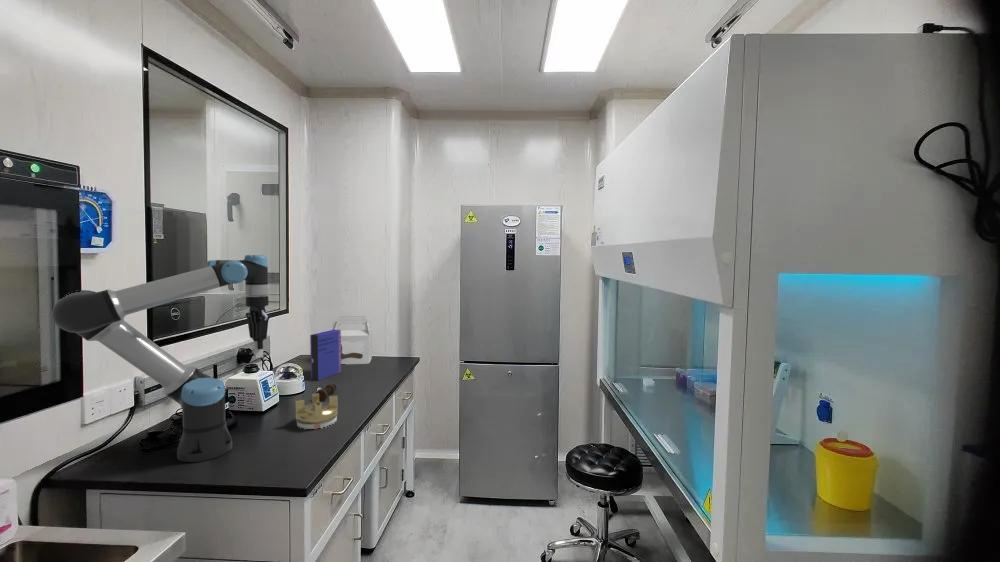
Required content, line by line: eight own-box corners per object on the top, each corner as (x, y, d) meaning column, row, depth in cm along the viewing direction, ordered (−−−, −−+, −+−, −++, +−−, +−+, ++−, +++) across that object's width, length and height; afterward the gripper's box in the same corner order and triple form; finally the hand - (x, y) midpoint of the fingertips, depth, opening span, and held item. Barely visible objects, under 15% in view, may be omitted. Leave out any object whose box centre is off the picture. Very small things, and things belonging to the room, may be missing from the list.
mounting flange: (311, 432, 158) (311, 427, 158) (289, 424, 166) (289, 418, 166) (344, 420, 170) (344, 415, 170) (322, 412, 178) (322, 408, 178)
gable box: (372, 358, 272) (371, 314, 270) (369, 363, 259) (369, 317, 257) (335, 359, 268) (334, 315, 266) (330, 365, 255) (330, 318, 253)
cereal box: (334, 371, 241) (333, 329, 240) (341, 372, 239) (340, 329, 238) (311, 380, 225) (310, 334, 223) (318, 381, 223) (317, 335, 222)
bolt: (335, 394, 207) (322, 404, 192) (326, 389, 207) (312, 398, 192) (341, 384, 207) (328, 393, 192) (332, 379, 207) (318, 387, 192)
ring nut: (341, 419, 166) (340, 401, 165) (297, 426, 158) (297, 407, 158) (334, 407, 179) (334, 390, 178) (294, 413, 171) (293, 396, 171)
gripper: (276, 296, 162) (277, 357, 163) (258, 294, 169) (259, 353, 170) (255, 297, 156) (257, 361, 157) (238, 295, 163) (239, 356, 164)
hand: (258, 357), depth 164 cm, fingers closed
